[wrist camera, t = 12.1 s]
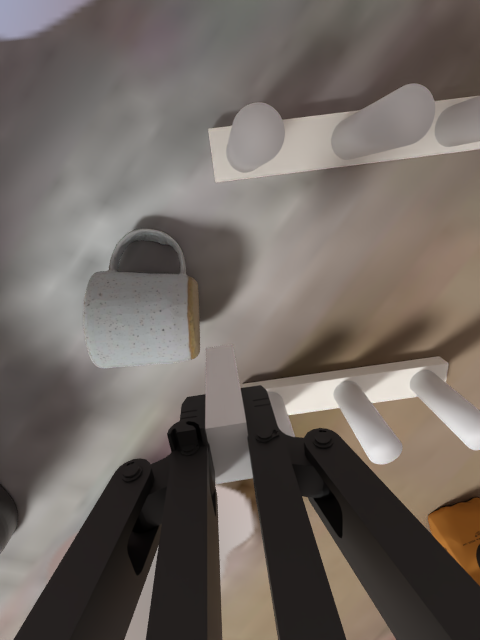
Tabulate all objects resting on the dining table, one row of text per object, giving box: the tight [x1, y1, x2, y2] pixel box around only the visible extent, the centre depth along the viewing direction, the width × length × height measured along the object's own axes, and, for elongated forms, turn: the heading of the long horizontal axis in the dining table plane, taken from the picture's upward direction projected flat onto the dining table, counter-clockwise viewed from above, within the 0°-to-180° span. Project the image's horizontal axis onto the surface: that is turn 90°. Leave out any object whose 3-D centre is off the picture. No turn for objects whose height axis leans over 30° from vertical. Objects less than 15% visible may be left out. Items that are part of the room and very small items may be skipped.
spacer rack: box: [208, 83, 480, 464], centre depth 25 cm, size 21×27×10 cm
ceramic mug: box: [83, 228, 200, 368], centre depth 25 cm, size 11×8×8 cm
